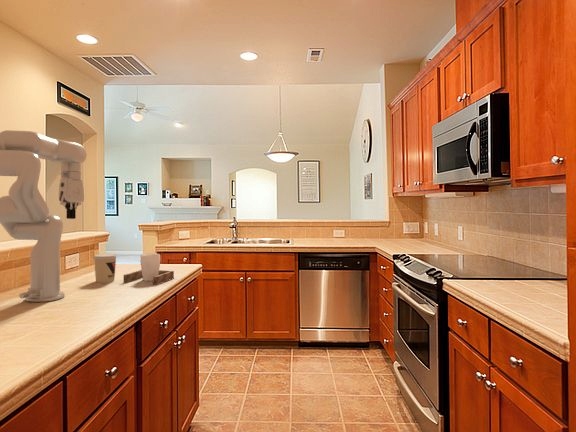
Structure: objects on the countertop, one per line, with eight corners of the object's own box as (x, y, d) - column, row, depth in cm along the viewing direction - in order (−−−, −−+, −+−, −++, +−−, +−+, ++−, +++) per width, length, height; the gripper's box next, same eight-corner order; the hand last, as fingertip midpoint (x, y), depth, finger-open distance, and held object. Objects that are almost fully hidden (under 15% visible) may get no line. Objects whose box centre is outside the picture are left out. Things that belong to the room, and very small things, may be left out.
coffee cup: (110, 283, 178) (110, 256, 178) (89, 282, 179) (89, 256, 178) (119, 279, 188) (119, 254, 187) (100, 278, 188) (100, 253, 187)
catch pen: (155, 284, 177) (155, 277, 177) (123, 282, 181) (123, 274, 180) (173, 278, 193) (173, 271, 193) (143, 276, 196) (143, 269, 196)
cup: (139, 278, 190) (139, 253, 189) (158, 277, 194) (158, 253, 194) (141, 282, 182) (141, 256, 181) (161, 280, 186) (162, 255, 186)
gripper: (65, 175, 163) (65, 219, 164) (90, 177, 178) (90, 218, 179) (49, 175, 165) (49, 219, 166) (76, 177, 179) (76, 217, 180)
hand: (71, 218), depth 172 cm, fingers closed
